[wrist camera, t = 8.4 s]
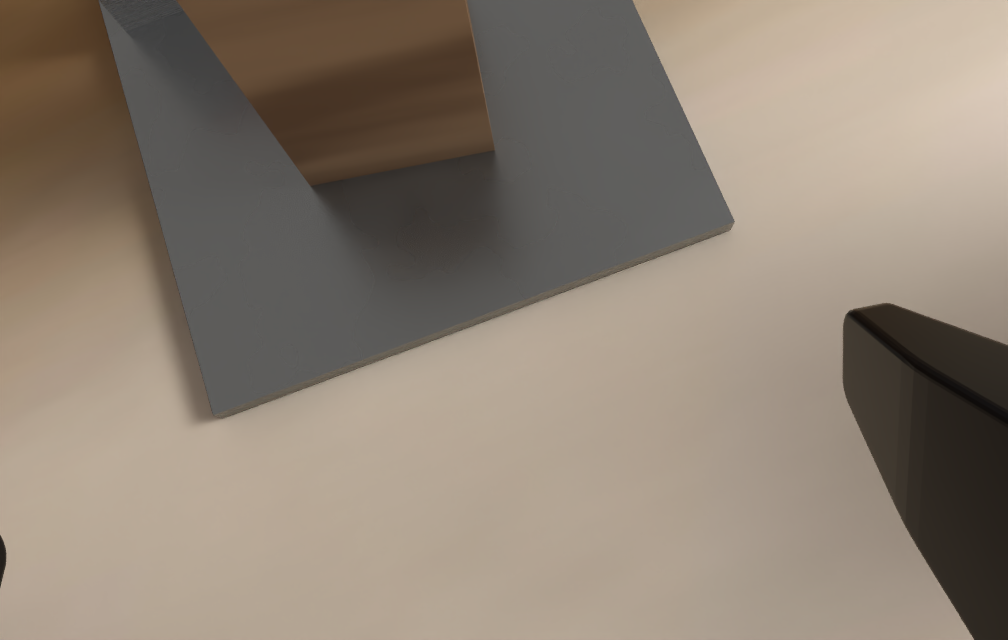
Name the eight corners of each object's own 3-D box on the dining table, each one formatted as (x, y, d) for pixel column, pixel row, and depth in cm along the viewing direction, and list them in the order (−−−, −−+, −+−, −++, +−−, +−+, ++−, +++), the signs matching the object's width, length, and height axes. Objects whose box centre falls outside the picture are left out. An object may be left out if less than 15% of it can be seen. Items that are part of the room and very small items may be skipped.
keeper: (730, 229, 24) (795, 94, 17) (222, 418, 23) (73, 360, 16) (541, -182, 27) (529, -433, 20) (99, -22, 27) (-66, -221, 20)
